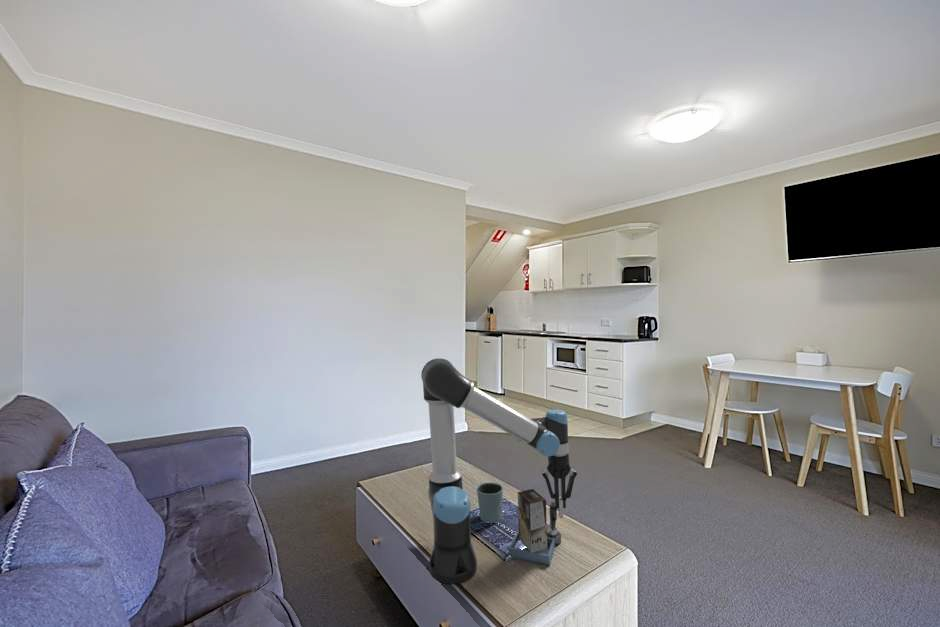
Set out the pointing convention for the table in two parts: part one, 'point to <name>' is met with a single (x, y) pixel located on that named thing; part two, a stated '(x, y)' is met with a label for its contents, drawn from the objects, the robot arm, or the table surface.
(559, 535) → the crank base
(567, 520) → the table surface
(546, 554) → the tray
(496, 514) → the green cup
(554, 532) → the crank
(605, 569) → the table surface
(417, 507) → the table surface
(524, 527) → the coffee box
